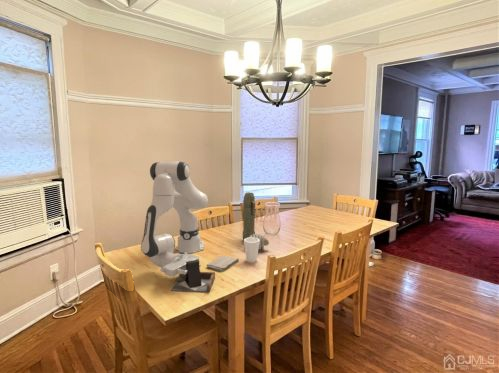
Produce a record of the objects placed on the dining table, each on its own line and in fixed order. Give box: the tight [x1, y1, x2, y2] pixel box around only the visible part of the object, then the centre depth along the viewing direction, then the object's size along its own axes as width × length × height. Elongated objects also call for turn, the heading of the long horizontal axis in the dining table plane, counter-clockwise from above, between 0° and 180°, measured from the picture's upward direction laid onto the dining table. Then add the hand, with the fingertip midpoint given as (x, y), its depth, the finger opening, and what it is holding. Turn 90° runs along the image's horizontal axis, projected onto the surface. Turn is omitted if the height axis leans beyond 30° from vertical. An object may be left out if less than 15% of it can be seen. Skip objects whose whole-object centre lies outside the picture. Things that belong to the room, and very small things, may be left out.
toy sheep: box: [242, 233, 270, 252], centre depth 208 cm, size 11×17×11 cm, turn 95°
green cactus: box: [242, 192, 256, 242], centre depth 224 cm, size 9×12×35 cm
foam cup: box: [243, 237, 260, 263], centre depth 192 cm, size 10×9×13 cm
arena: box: [170, 271, 216, 294], centre depth 161 cm, size 15×19×4 cm
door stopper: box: [185, 259, 202, 288], centre depth 160 cm, size 9×6×12 cm, turn 27°
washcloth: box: [206, 255, 240, 273], centre depth 186 cm, size 12×18×3 cm, turn 152°
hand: (193, 269), depth 159 cm, fingers open, 8 cm apart
